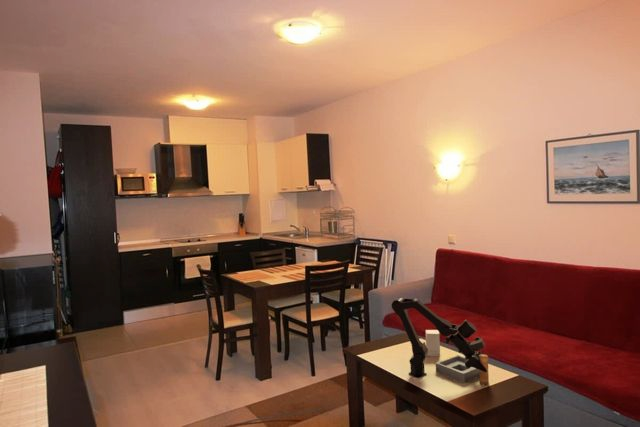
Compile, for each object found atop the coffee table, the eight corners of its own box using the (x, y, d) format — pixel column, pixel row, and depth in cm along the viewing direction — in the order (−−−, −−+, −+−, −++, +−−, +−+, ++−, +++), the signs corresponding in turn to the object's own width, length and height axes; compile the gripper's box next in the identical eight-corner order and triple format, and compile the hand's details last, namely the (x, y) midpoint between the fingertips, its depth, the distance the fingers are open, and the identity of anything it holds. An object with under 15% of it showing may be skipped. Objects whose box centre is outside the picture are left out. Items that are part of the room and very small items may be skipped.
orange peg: (485, 385, 201) (484, 358, 200) (477, 383, 204) (477, 355, 204) (490, 383, 203) (489, 356, 203) (483, 380, 206) (482, 353, 206)
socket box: (463, 383, 205) (463, 373, 205) (435, 371, 219) (435, 363, 219) (486, 373, 214) (485, 364, 214) (458, 363, 228) (457, 354, 228)
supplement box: (440, 356, 239) (439, 333, 238) (426, 356, 240) (425, 333, 240) (439, 351, 246) (438, 329, 246) (426, 351, 248) (425, 329, 247)
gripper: (471, 339, 196) (499, 366, 192) (475, 327, 213) (500, 352, 209) (454, 355, 199) (480, 382, 195) (459, 341, 216) (483, 366, 212)
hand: (486, 369), depth 203 cm, fingers closed on orange peg, 4 cm apart
